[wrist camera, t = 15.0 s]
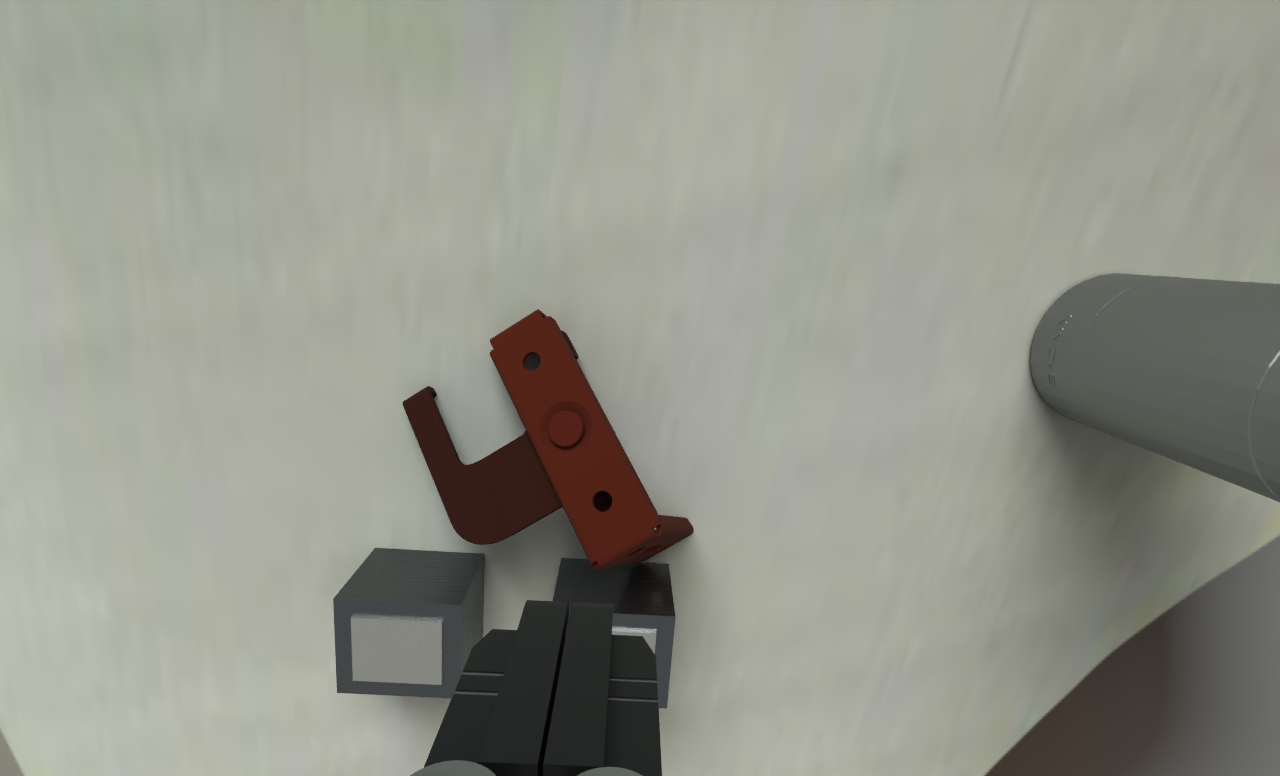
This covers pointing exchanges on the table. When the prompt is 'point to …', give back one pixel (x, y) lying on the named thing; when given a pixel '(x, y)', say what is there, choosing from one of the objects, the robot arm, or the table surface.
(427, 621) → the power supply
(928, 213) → the table surface
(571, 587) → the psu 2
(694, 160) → the table surface
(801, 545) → the table surface
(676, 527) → the bracket
